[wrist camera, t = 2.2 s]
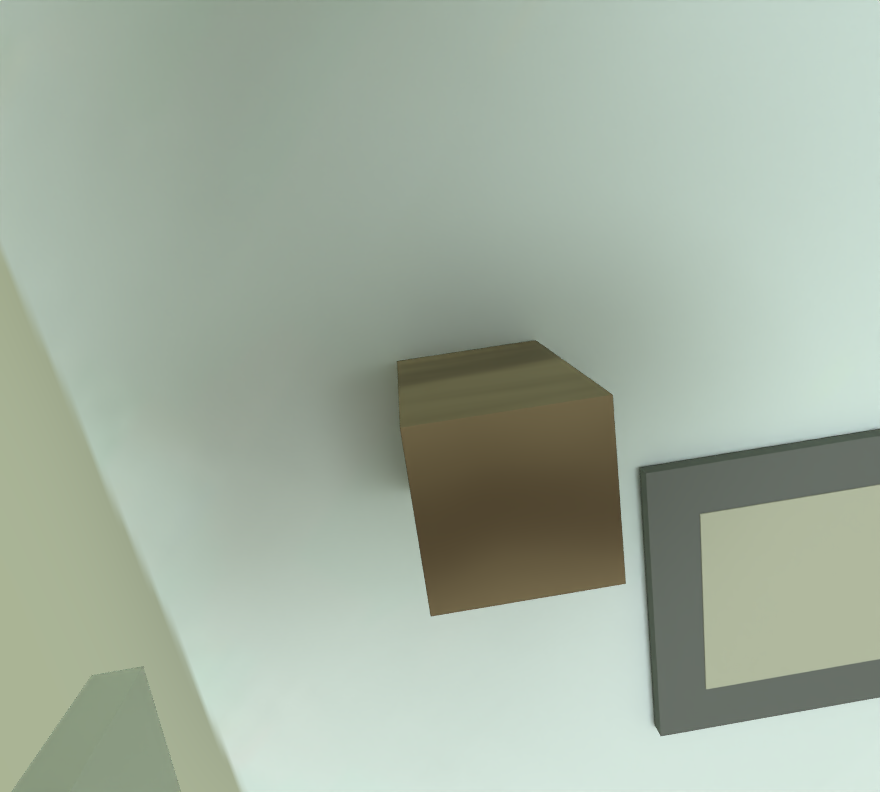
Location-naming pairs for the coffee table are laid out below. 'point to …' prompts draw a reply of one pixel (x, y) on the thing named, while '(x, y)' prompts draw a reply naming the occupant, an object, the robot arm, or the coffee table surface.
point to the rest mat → (763, 581)
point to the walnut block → (510, 476)
